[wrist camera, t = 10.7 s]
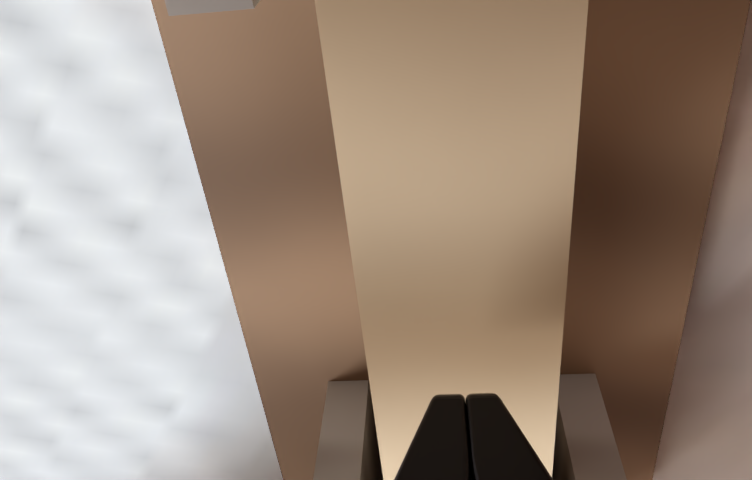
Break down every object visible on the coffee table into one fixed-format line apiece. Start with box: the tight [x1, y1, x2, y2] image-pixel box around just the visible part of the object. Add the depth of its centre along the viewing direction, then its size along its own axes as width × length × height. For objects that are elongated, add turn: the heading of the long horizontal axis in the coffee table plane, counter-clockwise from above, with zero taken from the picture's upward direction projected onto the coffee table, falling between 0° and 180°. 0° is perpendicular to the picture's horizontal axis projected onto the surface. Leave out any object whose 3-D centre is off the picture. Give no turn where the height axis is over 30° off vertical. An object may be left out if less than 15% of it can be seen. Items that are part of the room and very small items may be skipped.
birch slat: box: [315, 0, 589, 480], centre depth 12 cm, size 16×3×4 cm, turn 6°
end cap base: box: [151, 0, 751, 480], centre depth 12 cm, size 21×10×5 cm, turn 6°
